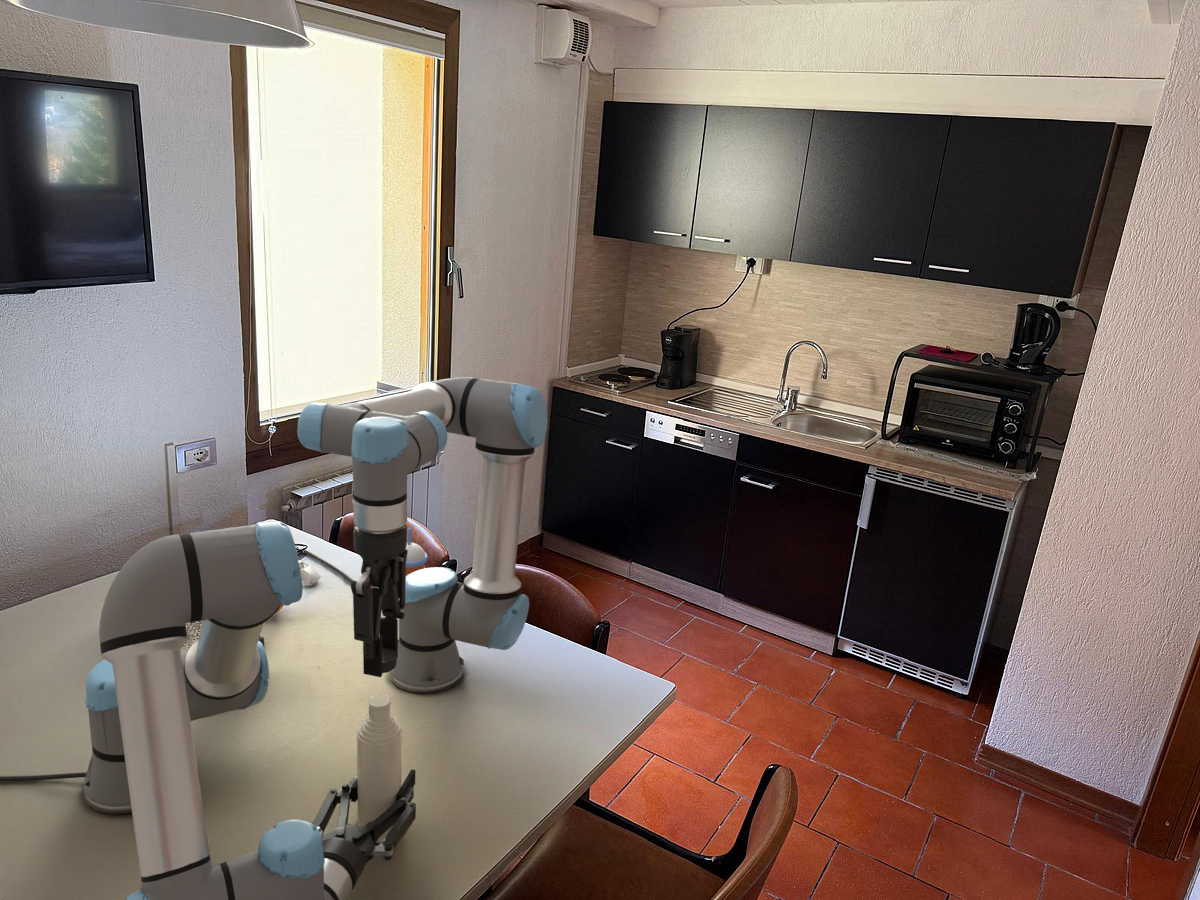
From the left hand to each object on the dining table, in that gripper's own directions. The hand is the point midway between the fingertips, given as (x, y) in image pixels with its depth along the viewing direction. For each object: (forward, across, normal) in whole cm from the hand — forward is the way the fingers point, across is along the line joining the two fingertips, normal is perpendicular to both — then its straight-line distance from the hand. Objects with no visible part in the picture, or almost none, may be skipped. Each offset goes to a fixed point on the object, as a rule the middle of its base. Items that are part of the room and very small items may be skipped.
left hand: (391, 772), depth 142 cm
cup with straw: (+73, -25, -7) cm, 77 cm away
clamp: (+74, -58, -7) cm, 94 cm away
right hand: (-5, 0, +23) cm, 24 cm away
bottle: (-5, 0, -7) cm, 8 cm away
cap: (-5, 0, +24) cm, 25 cm away
